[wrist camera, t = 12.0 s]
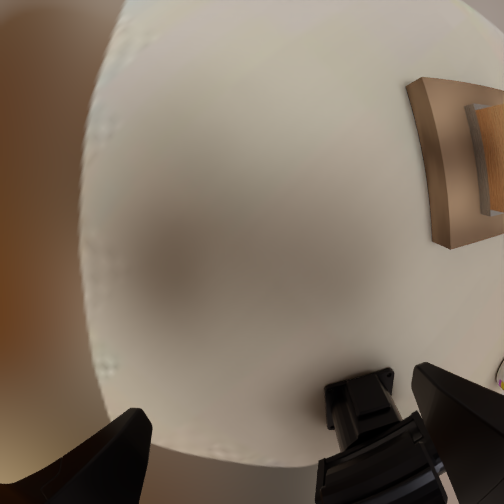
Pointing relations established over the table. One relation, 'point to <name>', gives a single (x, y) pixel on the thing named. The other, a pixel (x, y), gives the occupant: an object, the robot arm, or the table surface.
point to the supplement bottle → (501, 376)
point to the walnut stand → (452, 159)
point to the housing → (488, 154)
